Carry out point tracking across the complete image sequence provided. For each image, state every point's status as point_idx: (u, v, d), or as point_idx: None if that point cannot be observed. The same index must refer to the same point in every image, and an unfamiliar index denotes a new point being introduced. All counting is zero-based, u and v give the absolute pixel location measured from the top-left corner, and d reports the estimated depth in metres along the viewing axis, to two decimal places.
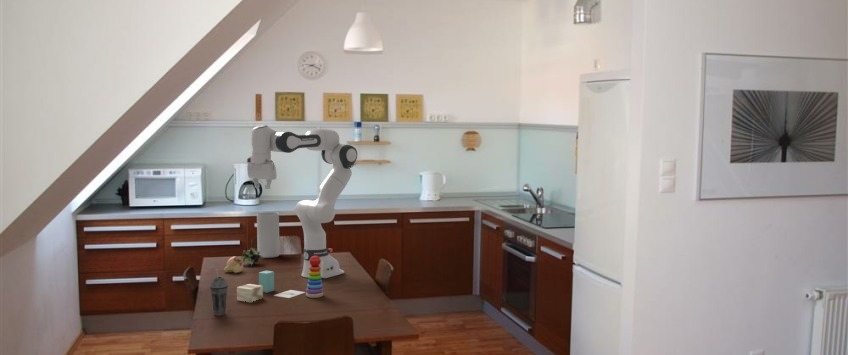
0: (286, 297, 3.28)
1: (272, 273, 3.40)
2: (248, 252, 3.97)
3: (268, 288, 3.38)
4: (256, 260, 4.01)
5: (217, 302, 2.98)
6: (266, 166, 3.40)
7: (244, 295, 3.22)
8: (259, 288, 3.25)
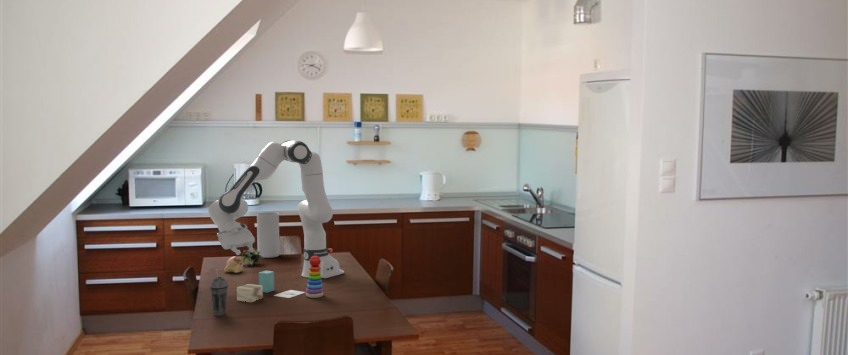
0: (286, 297, 3.28)
1: (272, 273, 3.40)
2: (248, 252, 3.97)
3: (268, 288, 3.38)
4: (256, 260, 4.01)
5: (217, 302, 2.98)
6: None
7: (244, 295, 3.22)
8: (259, 288, 3.25)
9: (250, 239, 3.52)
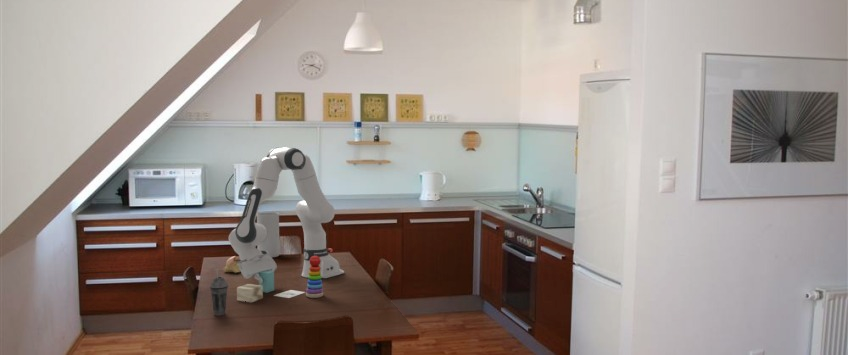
0: (286, 297, 3.28)
1: (272, 273, 3.40)
2: None
3: (268, 288, 3.38)
4: None
5: (217, 302, 2.98)
6: None
7: (244, 295, 3.22)
8: (259, 288, 3.25)
9: (272, 265, 3.47)
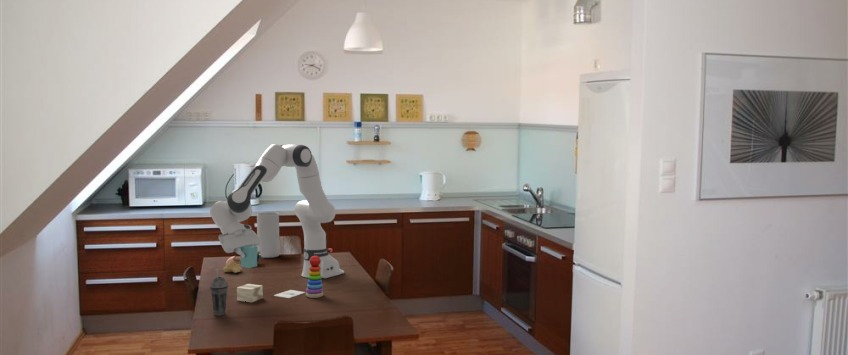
0: (286, 297, 3.28)
1: (255, 248, 3.24)
2: None
3: (250, 263, 3.22)
4: None
5: (217, 302, 2.98)
6: None
7: (244, 295, 3.22)
8: (259, 288, 3.25)
9: (255, 240, 3.30)
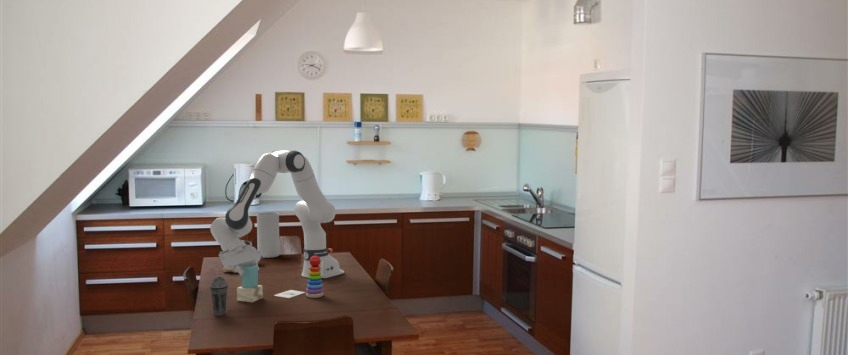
0: (286, 297, 3.28)
1: (256, 268, 3.25)
2: None
3: (251, 283, 3.23)
4: None
5: (217, 302, 2.98)
6: None
7: (245, 295, 3.22)
8: (259, 288, 3.25)
9: (255, 256, 3.31)
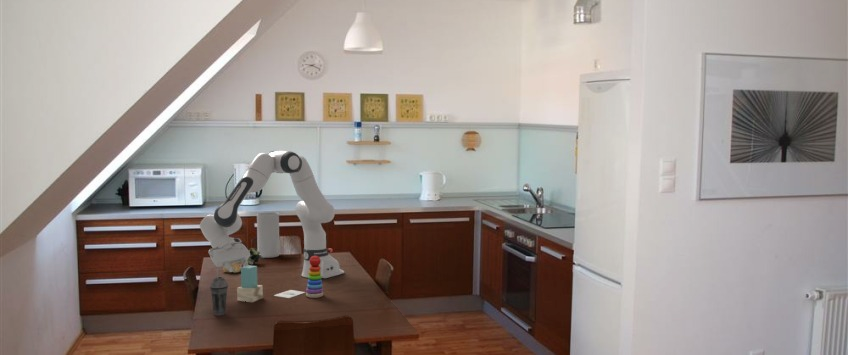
0: (286, 297, 3.28)
1: (255, 268, 3.25)
2: None
3: (251, 283, 3.23)
4: (256, 260, 4.01)
5: (217, 302, 2.98)
6: None
7: (245, 295, 3.22)
8: (259, 288, 3.25)
9: (245, 254, 3.34)
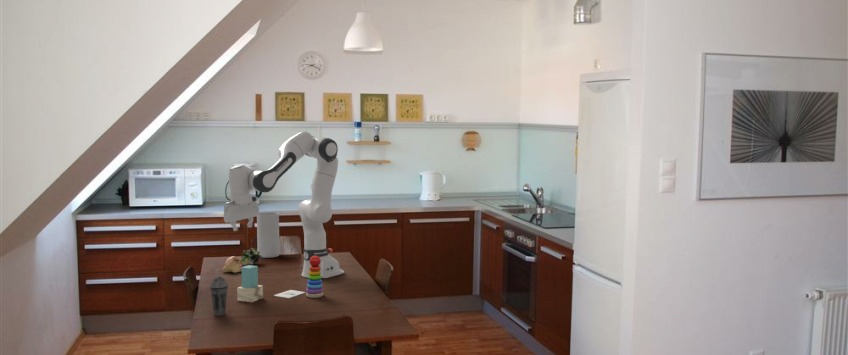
0: (286, 297, 3.28)
1: (256, 268, 3.25)
2: (248, 252, 3.97)
3: (251, 283, 3.23)
4: (256, 260, 4.01)
5: (217, 302, 2.98)
6: None
7: (245, 295, 3.21)
8: (260, 288, 3.25)
9: (254, 213, 3.45)
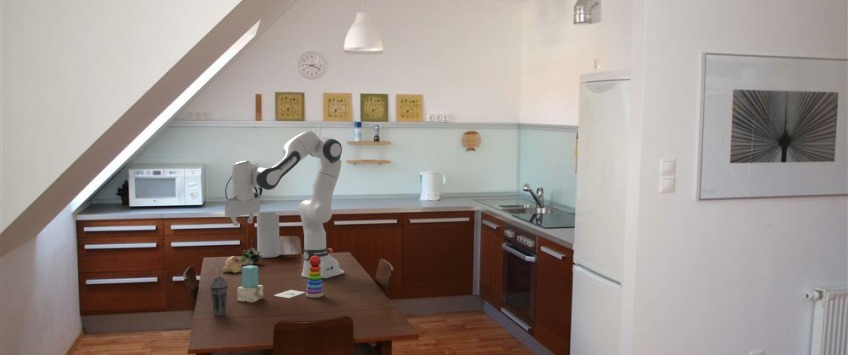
0: (286, 297, 3.28)
1: (256, 268, 3.24)
2: (248, 252, 3.97)
3: (252, 284, 3.22)
4: (256, 260, 4.01)
5: (217, 302, 2.98)
6: None
7: (245, 295, 3.21)
8: (260, 288, 3.25)
9: (255, 210, 3.45)
